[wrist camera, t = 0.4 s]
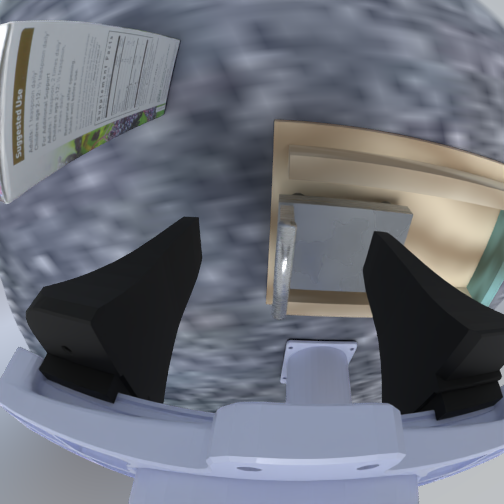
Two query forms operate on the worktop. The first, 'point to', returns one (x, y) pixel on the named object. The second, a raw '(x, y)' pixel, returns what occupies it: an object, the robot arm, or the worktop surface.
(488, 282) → the dock bay
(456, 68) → the worktop surface
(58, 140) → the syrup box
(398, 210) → the slab with rounded spine
